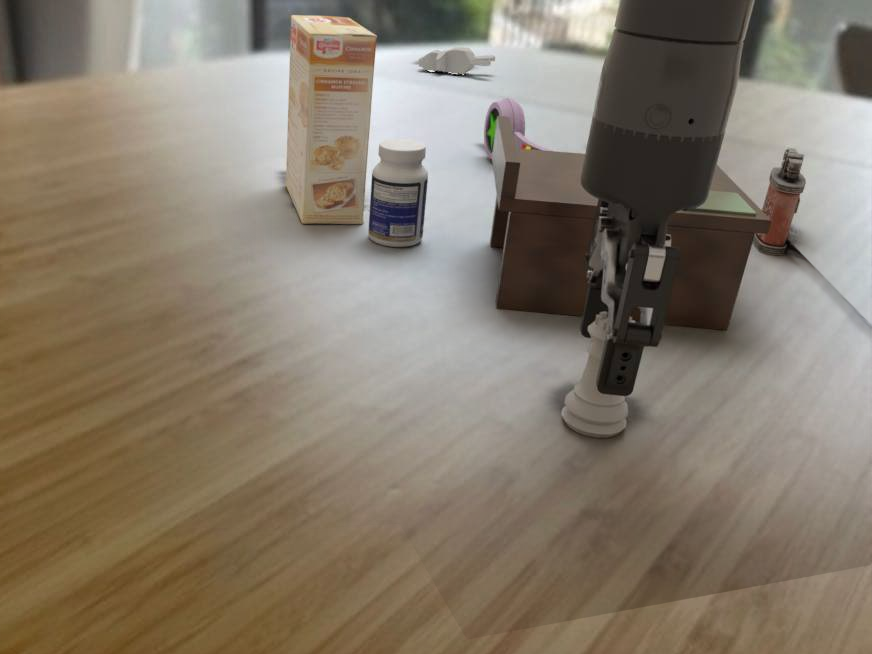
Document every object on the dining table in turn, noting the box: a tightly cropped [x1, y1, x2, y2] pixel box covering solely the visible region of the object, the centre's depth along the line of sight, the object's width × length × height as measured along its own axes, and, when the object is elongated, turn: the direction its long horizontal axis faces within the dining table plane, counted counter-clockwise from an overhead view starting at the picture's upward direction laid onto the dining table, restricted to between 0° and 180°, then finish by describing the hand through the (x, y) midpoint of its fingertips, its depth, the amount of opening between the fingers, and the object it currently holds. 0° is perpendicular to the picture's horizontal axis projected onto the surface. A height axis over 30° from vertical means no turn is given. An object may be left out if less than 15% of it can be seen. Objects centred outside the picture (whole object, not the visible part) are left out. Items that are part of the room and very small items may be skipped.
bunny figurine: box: [418, 46, 496, 75], centre depth 187 cm, size 10×5×15 cm
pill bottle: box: [367, 138, 429, 248], centre depth 93 cm, size 6×6×10 cm
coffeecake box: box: [285, 14, 378, 225], centre depth 100 cm, size 15×7×20 cm, turn 9°
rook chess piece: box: [560, 311, 636, 439], centre depth 61 cm, size 4×4×8 cm
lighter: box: [752, 147, 807, 256], centre depth 98 cm, size 8×3×10 cm, turn 161°
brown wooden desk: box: [489, 116, 772, 331], centre depth 84 cm, size 22×18×13 cm
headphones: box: [483, 97, 553, 160], centre depth 120 cm, size 20×10×20 cm
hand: (603, 362), depth 61 cm, fingers open, 8 cm apart
